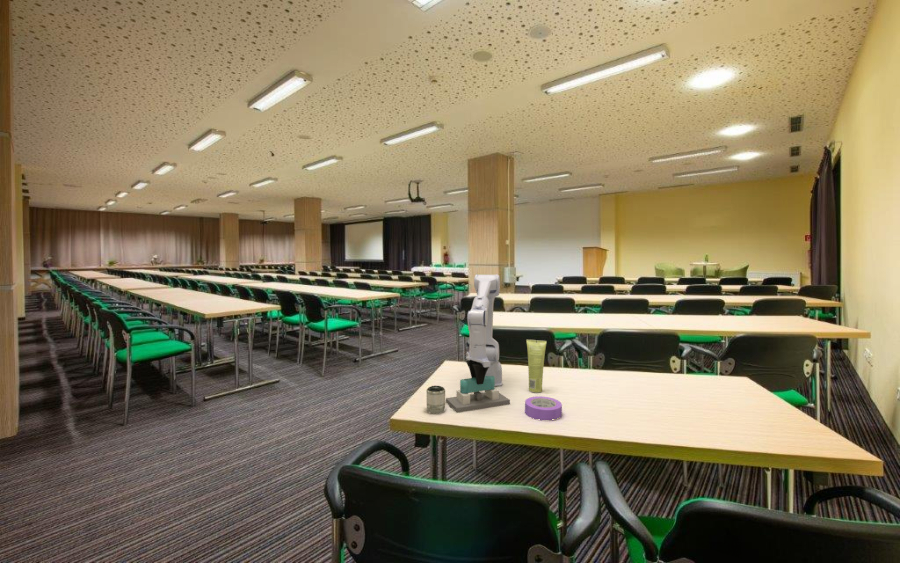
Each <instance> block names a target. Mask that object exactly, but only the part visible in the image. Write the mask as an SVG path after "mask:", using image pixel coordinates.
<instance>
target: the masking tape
mask: <svg viewBox="0 0 900 563" xmlns="http://www.w3.org/2000/svg"><path fill="white" fill-rule="evenodd" d="M562 411H563V404H562V402H561V401H559V400H558V399H555V398H553V397H550V396H549V397H548V396H540V395H539V396H536V395H535V396H531V397H528V398H526V399H525V400H524V414H525V413H526V414H525V416H527V417H529V418H530V417H531V419H533V418H534V420H536V419H540V420H539V421H542V420H552V419H557V418H559V417H561V418H562V416H561V415H562V414H563V413H562ZM559 419H560V418H559ZM557 420H558V419H557ZM552 421H553V420H552Z"/></svg>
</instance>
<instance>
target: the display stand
mask: <svg viewBox="0 0 900 563" xmlns="http://www.w3.org/2000/svg"><path fill="white" fill-rule="evenodd" d="M445 404H447V405H448V406H449V407H450V408H451V409H452V410H453V411H455V413H456V414H457V413H463V412H470V411H475V410H481V409H487V408H488V409H489V408H494V407H500V406H501V407H502V406H508V405H511V399H509V398H508V397H506V396H505V395H504V394H502V393H500V391H499V389H497V388H495V389H492V390H485V391H483V392H482V391H478V392H473V393H471V394H470V393H461V392H460V389H457V390H456V396H451V397H445Z"/></svg>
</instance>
